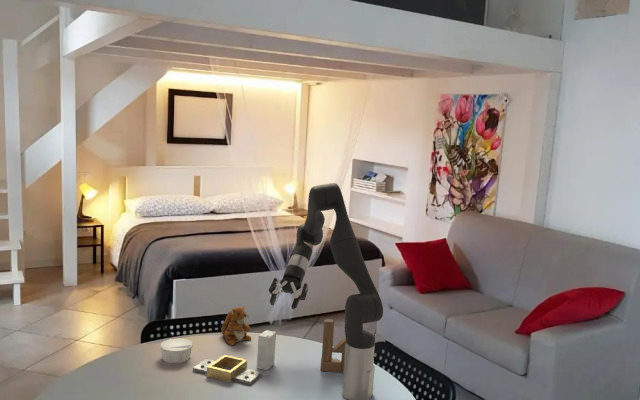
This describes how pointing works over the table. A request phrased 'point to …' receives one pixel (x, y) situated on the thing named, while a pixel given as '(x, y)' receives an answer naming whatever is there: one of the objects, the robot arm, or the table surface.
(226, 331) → the stuffed squirrel
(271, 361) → the skincare box
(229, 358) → the square socket fixture
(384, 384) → the table surface
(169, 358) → the ramekin
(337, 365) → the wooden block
